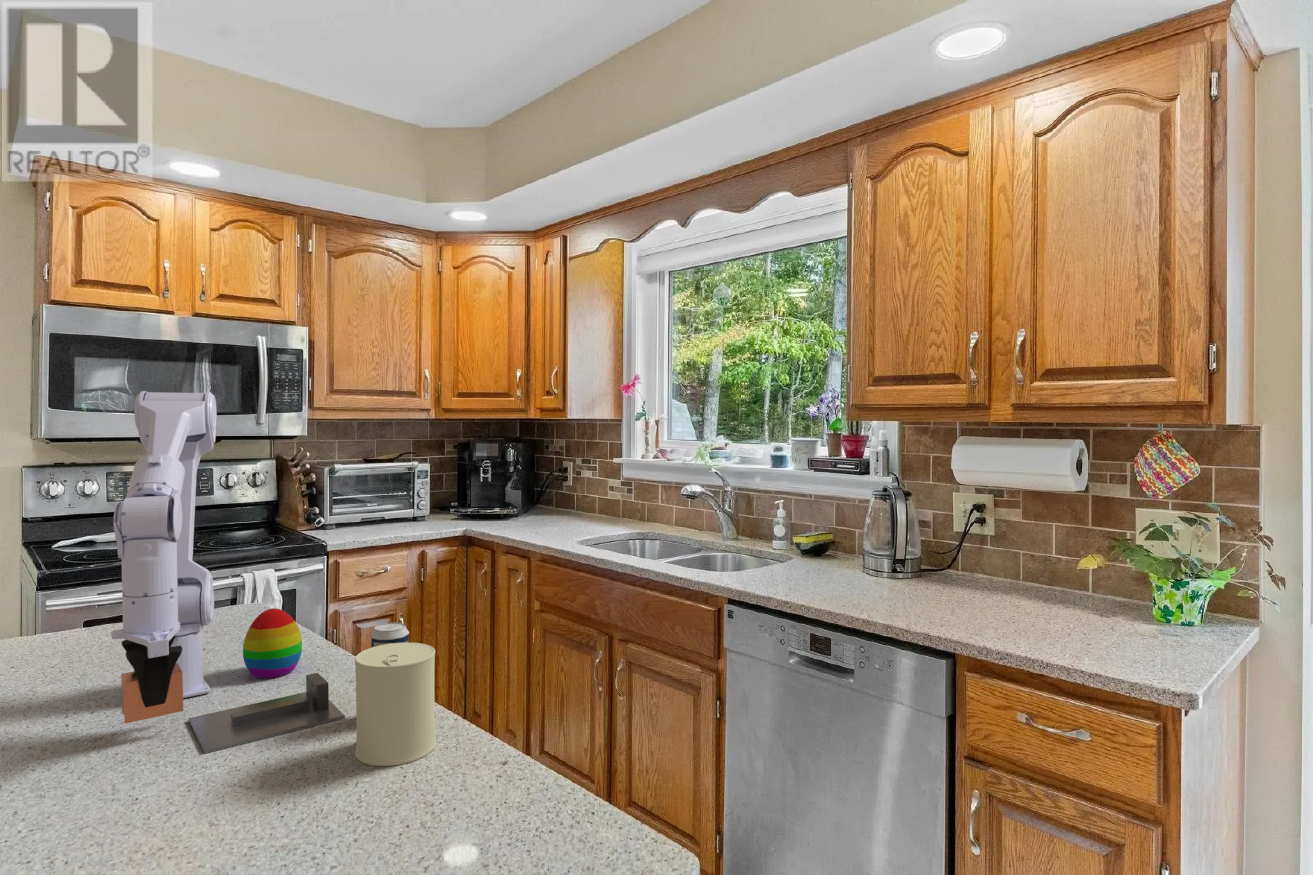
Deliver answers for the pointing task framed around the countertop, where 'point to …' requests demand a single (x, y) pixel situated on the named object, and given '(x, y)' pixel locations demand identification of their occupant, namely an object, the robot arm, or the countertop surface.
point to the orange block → (134, 703)
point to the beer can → (389, 634)
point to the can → (395, 703)
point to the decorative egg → (272, 644)
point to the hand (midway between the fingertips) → (152, 699)
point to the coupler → (266, 717)
